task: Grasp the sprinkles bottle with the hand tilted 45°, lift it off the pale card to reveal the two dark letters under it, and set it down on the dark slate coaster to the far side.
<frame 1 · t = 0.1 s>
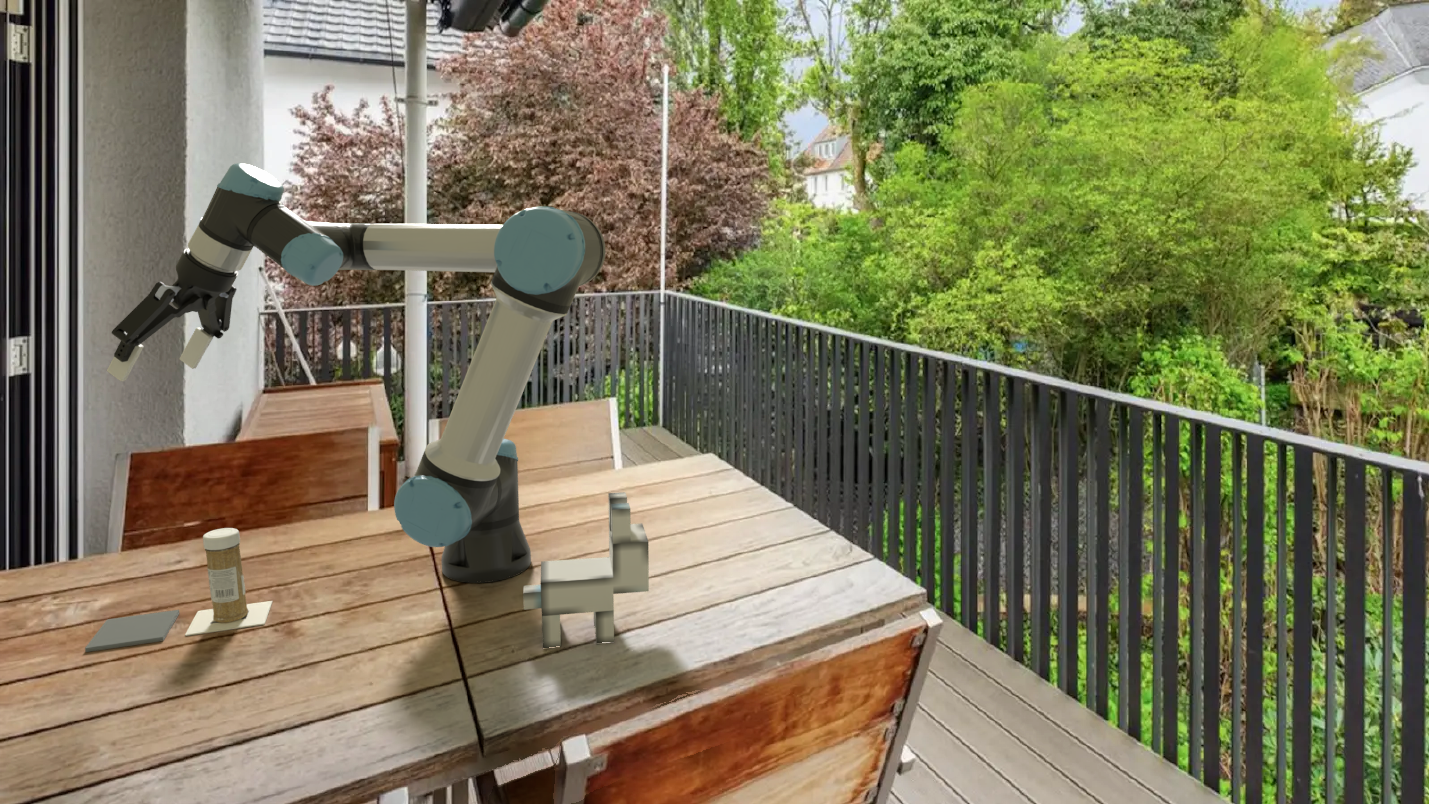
hand: (153, 369, 122), 36 cm above the table, tool tilted 35°, fingers open, 13 cm apart
toy llama: (586, 633, 114), on the table
coaster: (135, 631, 112), on the table
code tile: (230, 618, 117), on the table
sprinkles bottle: (230, 618, 117), resting on code tile
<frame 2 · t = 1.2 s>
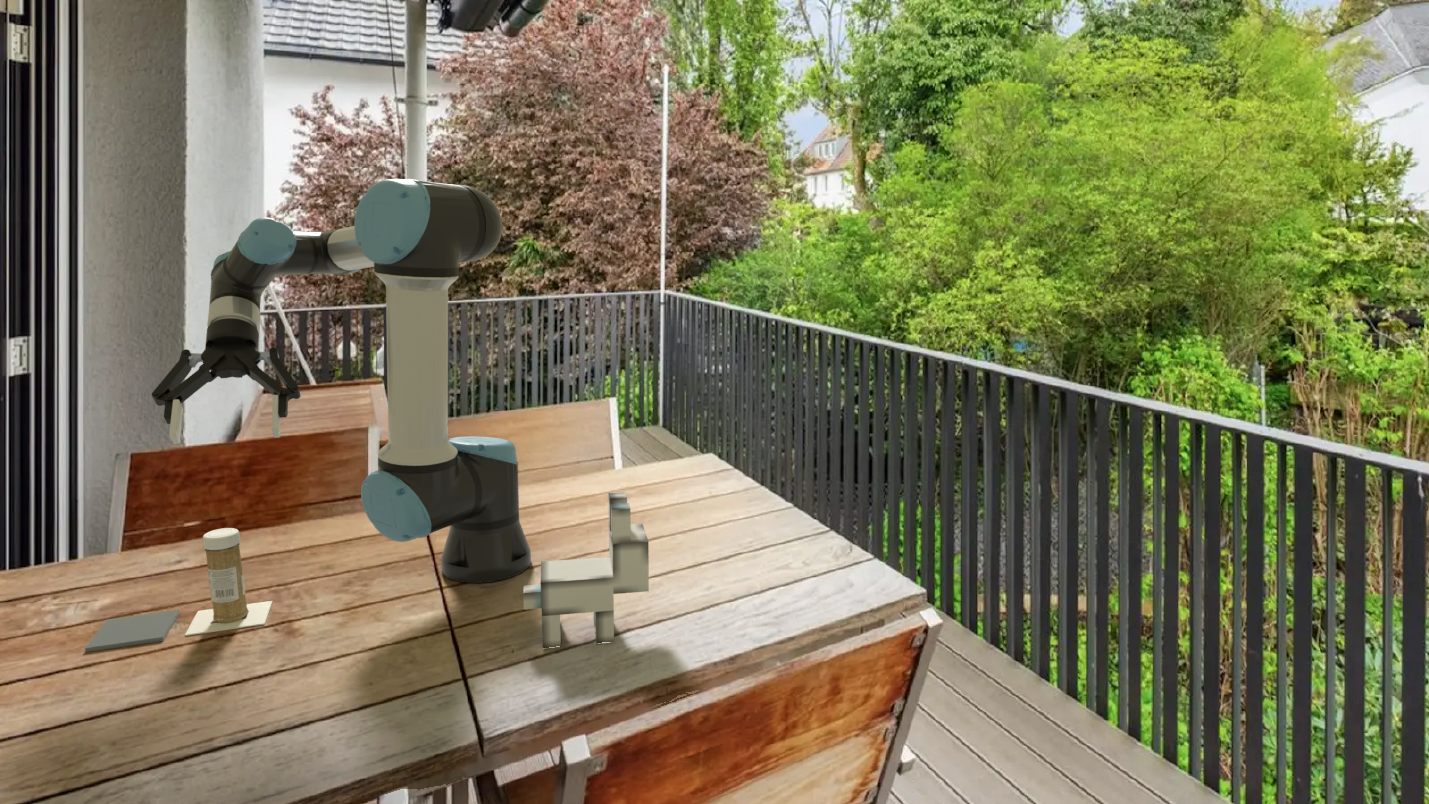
hand: (226, 436, 121), 26 cm above the table, tool tilted 45°, fingers open, 13 cm apart
nothing on the table moved.
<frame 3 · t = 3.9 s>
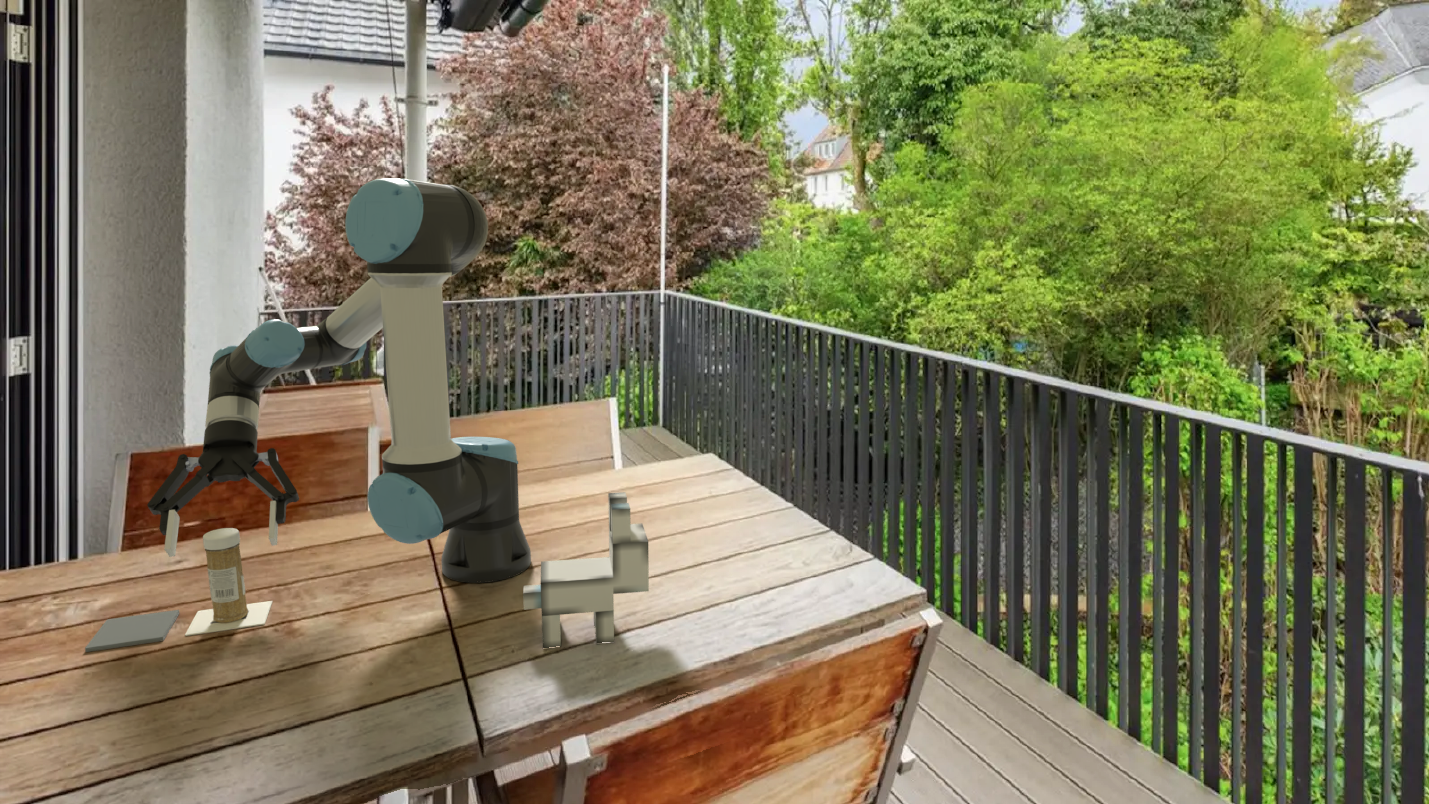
hand: (222, 547, 119), 10 cm above the table, tool tilted 45°, fingers open, 13 cm apart
nothing on the table moved.
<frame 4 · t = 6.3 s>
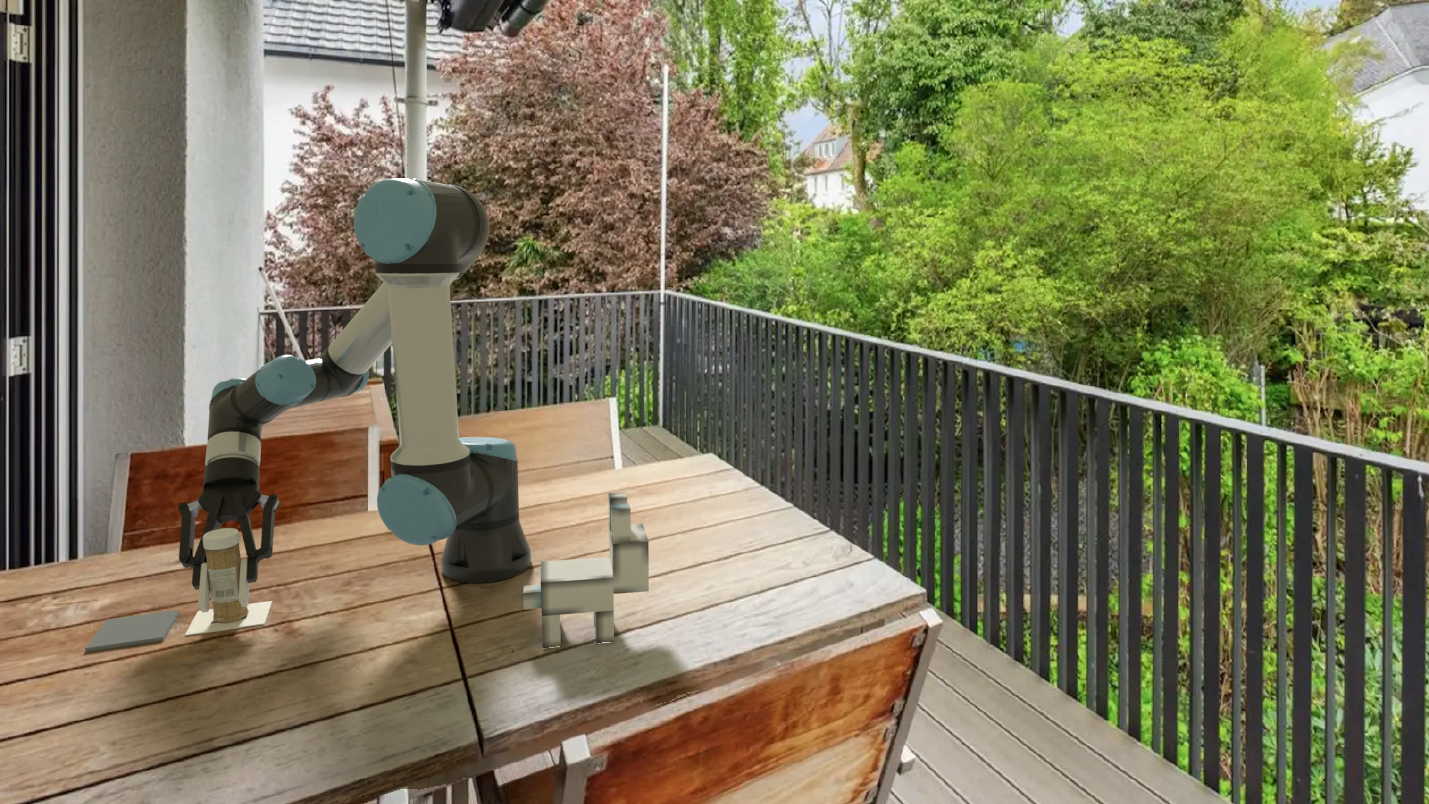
hand: (223, 605, 112), 4 cm above the table, tool tilted 45°, fingers closed on sprinkles bottle, 4 cm apart
sprinkles bottle: (230, 618, 117), resting on code tile, touching gripper
everything else where it was.
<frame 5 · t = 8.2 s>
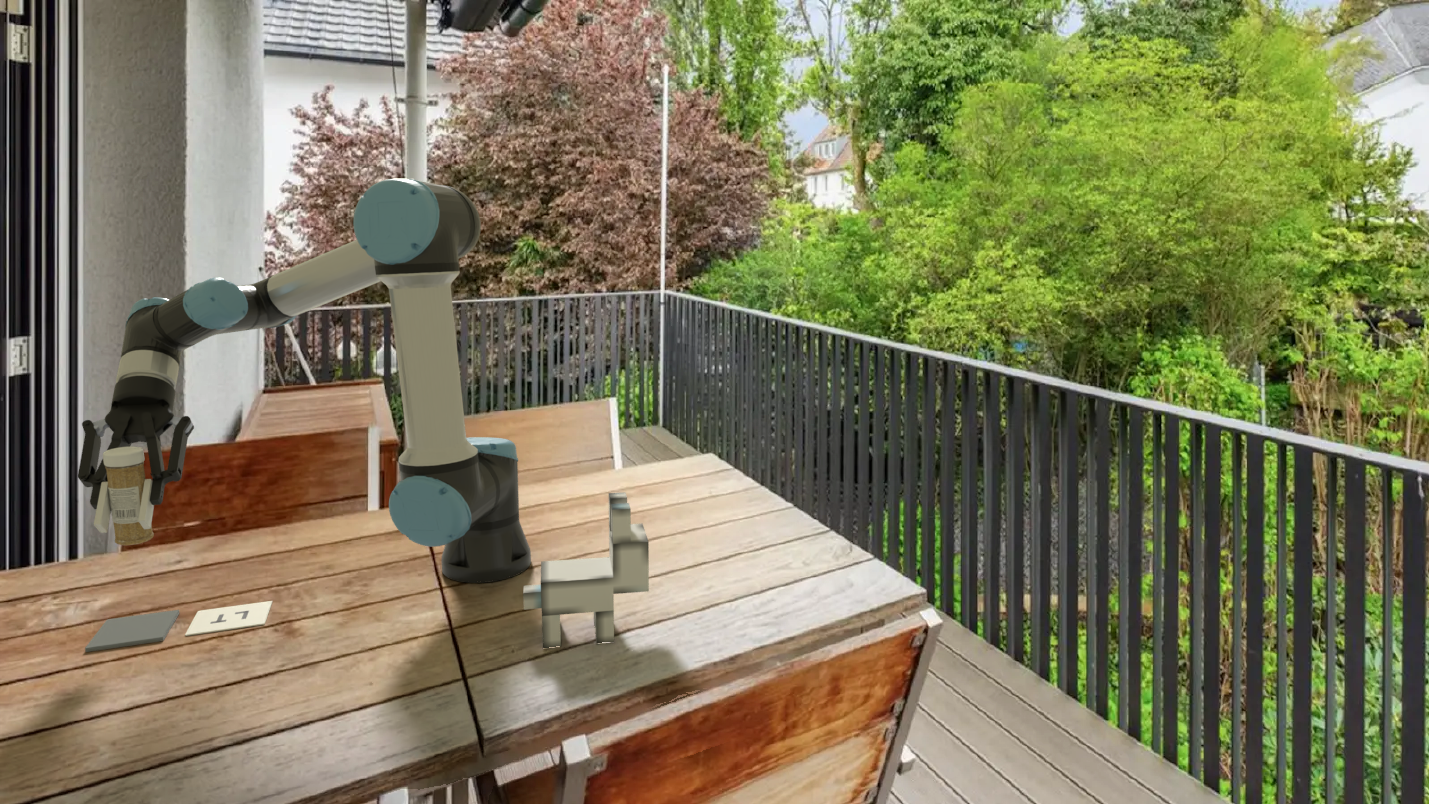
hand: (122, 526, 107), 17 cm above the table, tool tilted 45°, fingers closed on sprinkles bottle, 4 cm apart
sprinkles bottle: (134, 541, 111), point 13 cm above the table, touching gripper
everything else where it was.
when the fingers open (6 cm above the table, at t = 10.2 s): sprinkles bottle drops 2 cm, resting on coaster.
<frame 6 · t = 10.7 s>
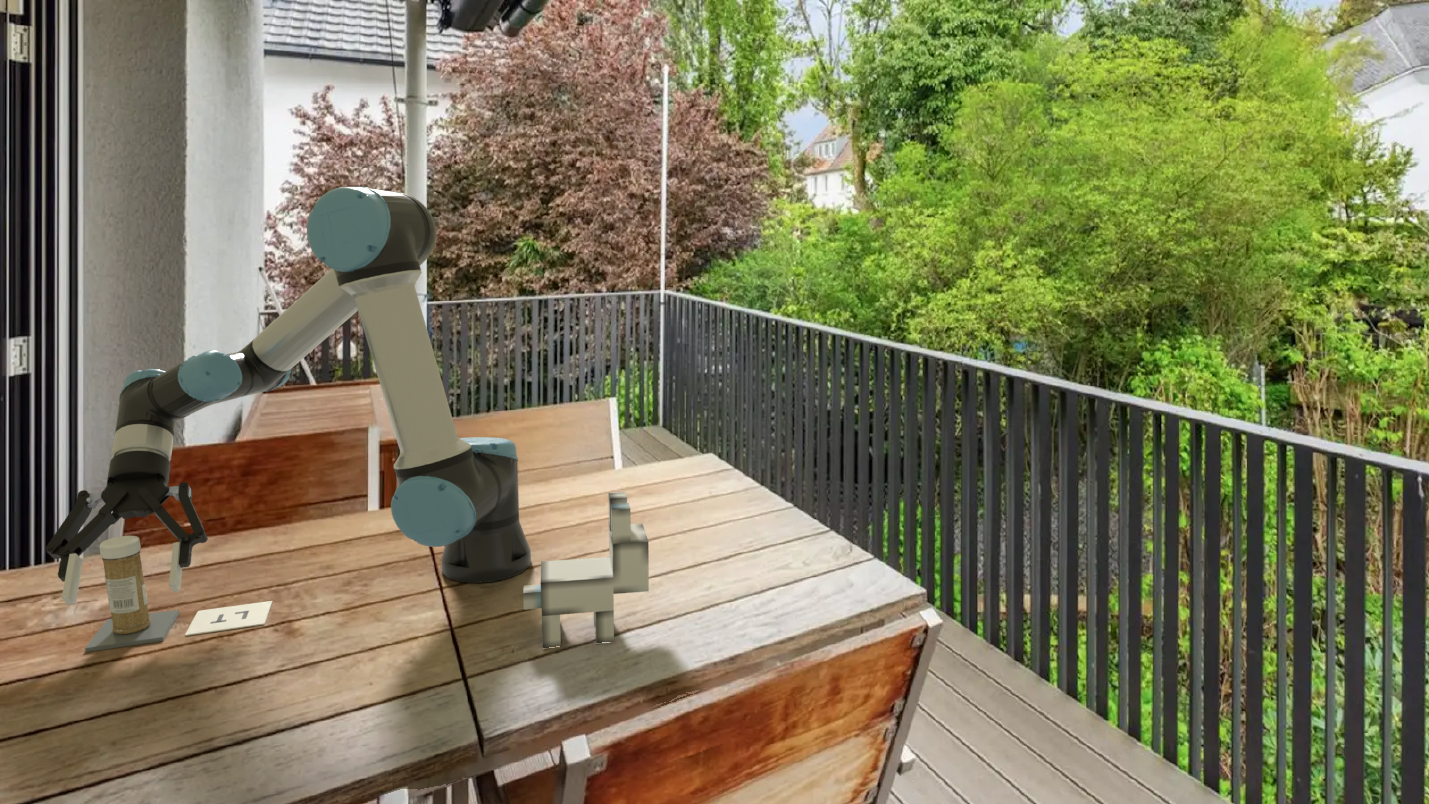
hand: (122, 594, 108), 7 cm above the table, tool tilted 45°, fingers open, 11 cm apart
sprinkles bottle: (132, 629, 112), resting on coaster
everything else where it was.
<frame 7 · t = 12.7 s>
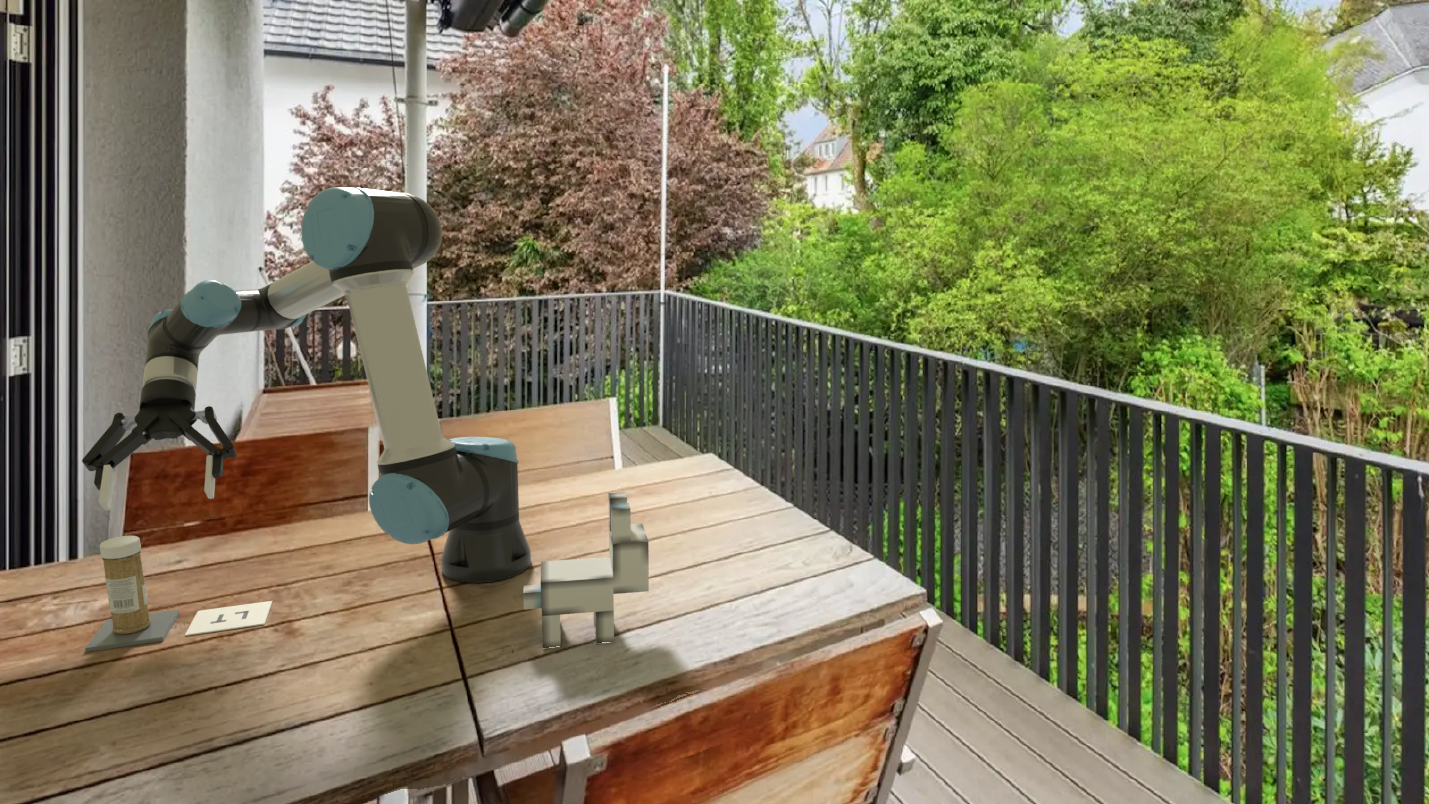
hand: (157, 500, 120), 16 cm above the table, tool tilted 45°, fingers open, 13 cm apart
nothing on the table moved.
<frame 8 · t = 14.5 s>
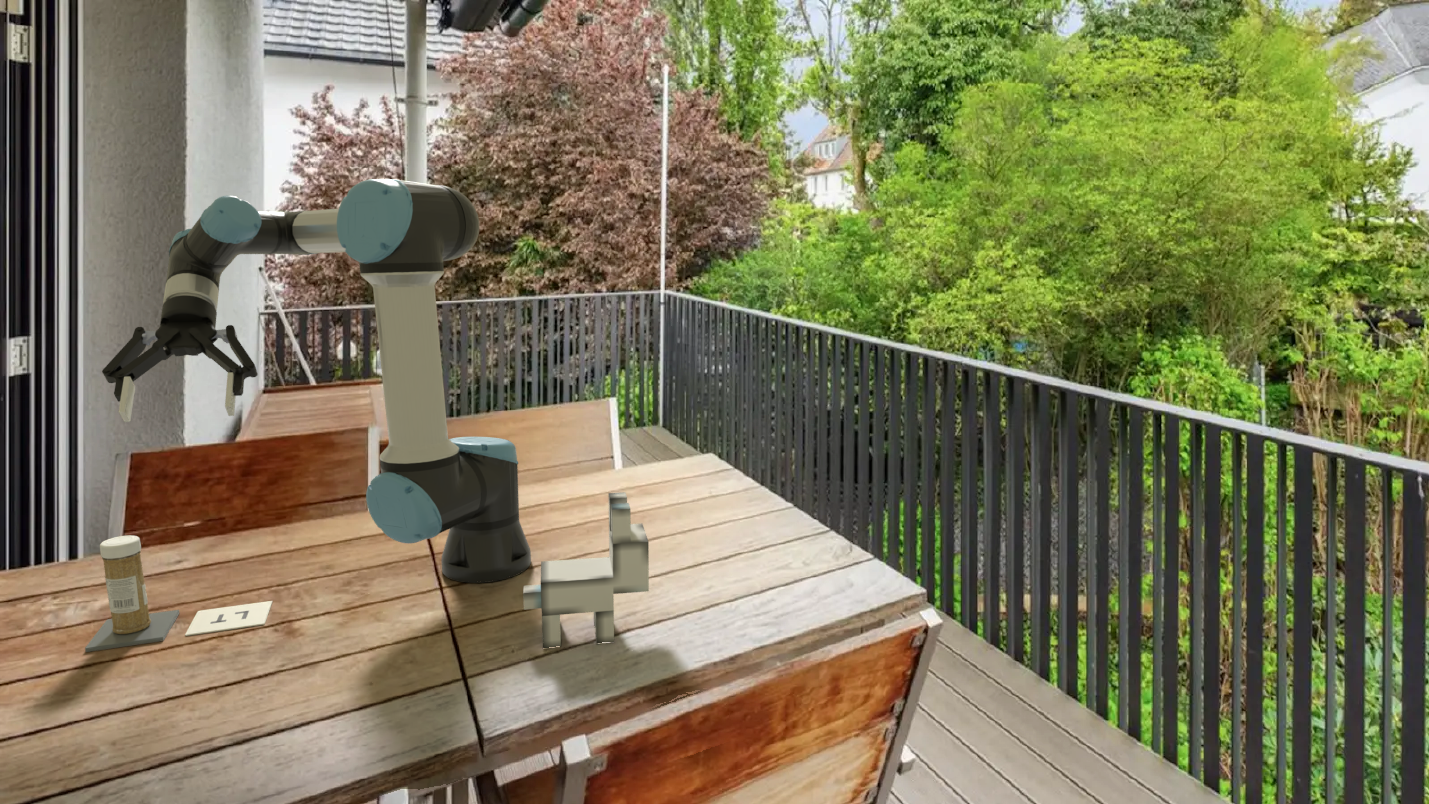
hand: (178, 414, 118), 30 cm above the table, tool tilted 45°, fingers open, 13 cm apart
nothing on the table moved.
at the end: sprinkles bottle 0.3 cm from the coaster (horizontally); sprinkles bottle tilted 0°; sprinkles bottle touching coaster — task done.
